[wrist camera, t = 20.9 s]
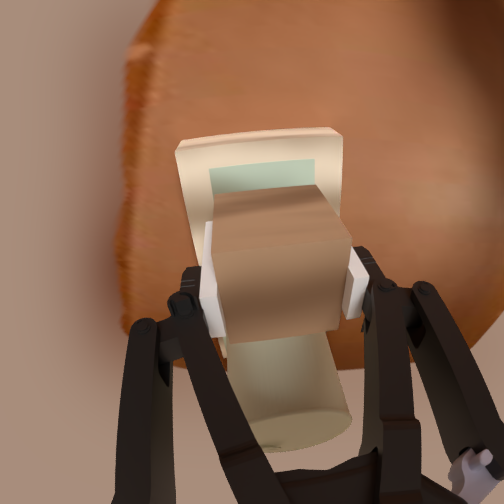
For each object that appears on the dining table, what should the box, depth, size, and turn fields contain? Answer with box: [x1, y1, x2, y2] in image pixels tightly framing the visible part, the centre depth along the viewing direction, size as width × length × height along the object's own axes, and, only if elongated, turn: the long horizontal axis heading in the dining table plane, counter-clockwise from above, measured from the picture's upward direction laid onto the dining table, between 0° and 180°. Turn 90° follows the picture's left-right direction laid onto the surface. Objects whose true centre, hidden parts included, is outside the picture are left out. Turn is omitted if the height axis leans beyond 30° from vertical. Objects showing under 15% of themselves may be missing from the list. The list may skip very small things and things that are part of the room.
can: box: [226, 329, 352, 453], centre depth 23 cm, size 9×9×12 cm
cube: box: [211, 184, 352, 344], centre depth 16 cm, size 6×6×6 cm
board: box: [175, 127, 343, 358], centre depth 26 cm, size 22×11×3 cm, turn 5°
